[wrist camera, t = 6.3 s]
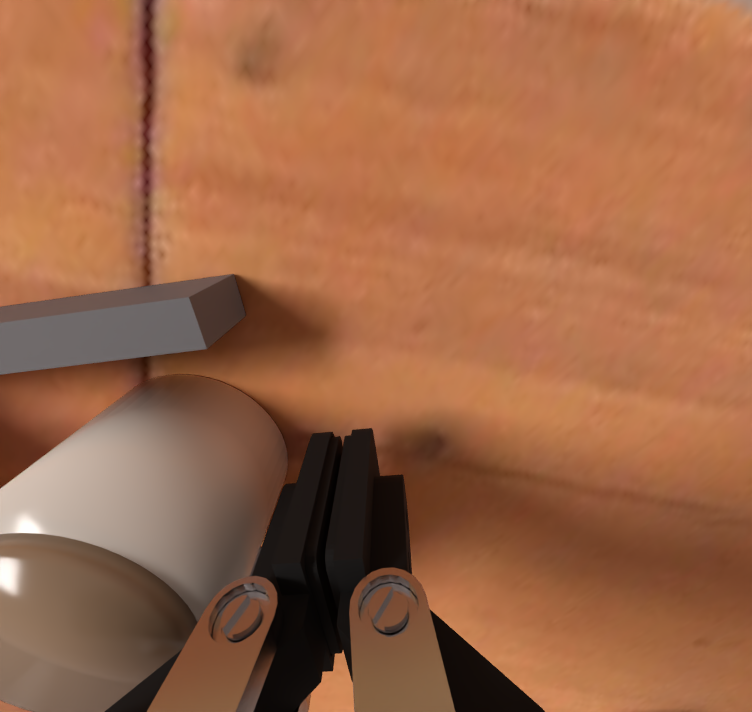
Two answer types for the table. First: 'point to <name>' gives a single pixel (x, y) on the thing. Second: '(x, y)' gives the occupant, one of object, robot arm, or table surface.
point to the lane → (119, 325)
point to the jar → (130, 539)
